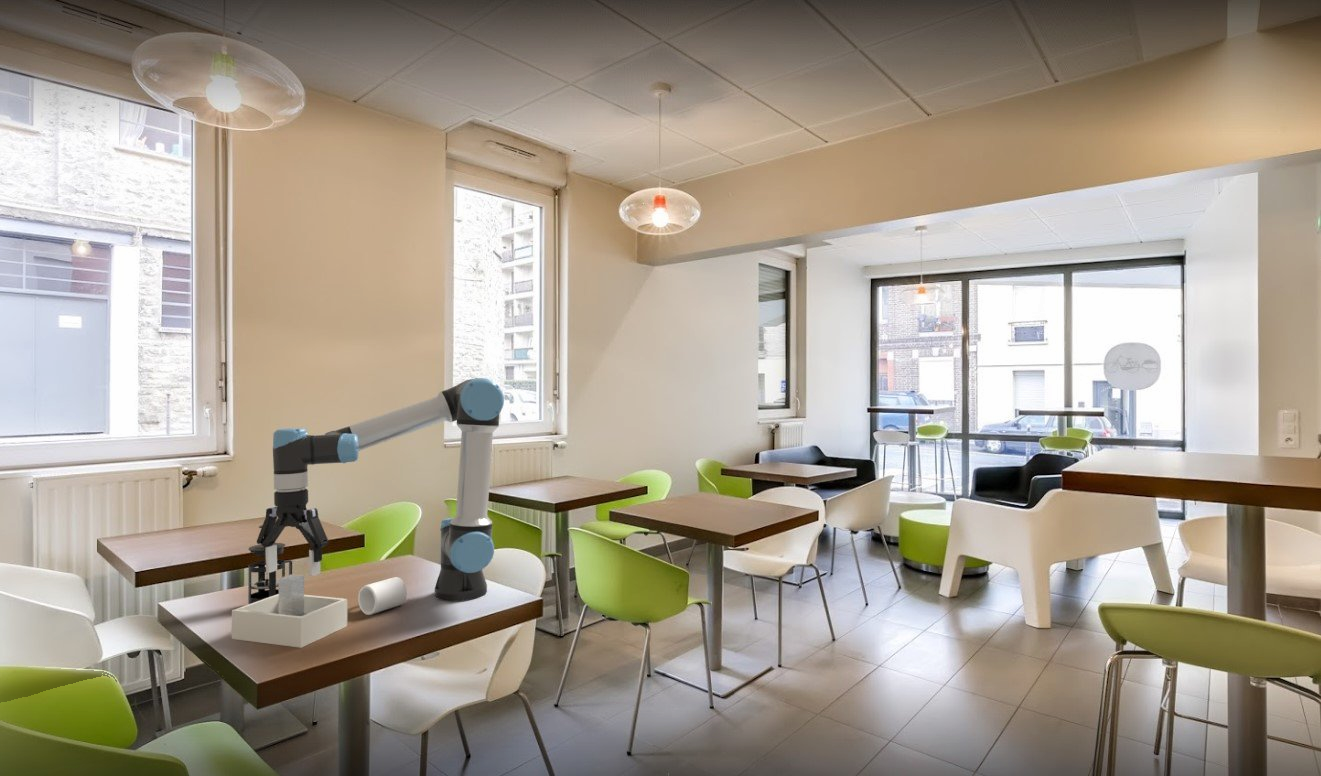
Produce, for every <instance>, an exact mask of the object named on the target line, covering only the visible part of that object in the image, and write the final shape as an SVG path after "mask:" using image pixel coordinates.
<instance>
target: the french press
mask: <svg viewBox="0 0 1321 776" xmlns="http://www.w3.org/2000/svg"><path fill="white" fill-rule="evenodd" d="M262 526H263V524H261V525H259V526H258V528H259V529H261V528H262ZM275 543H276V544H273V545H277V556H280V555H282V554H283V553H284V548H285V547H286V543H282V542H275ZM248 551H250V553H251V554H255V555H256V556H257V557H259V558H264V547H263V545H262V544H256V545H252V546H250V547H248ZM287 563H288V575H291V574H293V560H291V559H288V560H287V559H286V560H285V559H284V560H283V559H277V571H279V570H281V578H282V577H285V576H286V564H287ZM277 571H273V572H270V573H266V559H265V560H260V561H256V562H253V563H250V564H248V572H247V573H248V578H247V579H248V591H247V592H248V602H247V603H248V604H247V605H249V604H251V603H254V602H257V601H260V600H263V599H266V598H268V597H271V596H274V595H277V594H279V578H277ZM252 573H258V575H257V581H254V582H253V583H252ZM277 587H278V589H277ZM252 590H257V591H256V592H253V593H252Z"/></svg>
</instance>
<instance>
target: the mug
mask: <svg viewBox="0 0 1321 776" xmlns="http://www.w3.org/2000/svg"><path fill="white" fill-rule="evenodd" d="M407 592H408V591H407V587H406V584H405V582H404V580H402V578H400V577H397V576H394V577H390V578H387V579H384V580H380V581H376V582H373V583H368V584H366V585H363V586H361V588H360V589H359V591H358V595H357V601H358V607H359V608H360V610H361V612H362V613H363V614H365V615H367V616H371V615H374V614H378V613H380V612H384V611H387V610H390V609H393V608H396V607H399V606H402V605H403V604H404V603H405V601H406V599H407V597H408V596H407V595H408V593H407Z"/></svg>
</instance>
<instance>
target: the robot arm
mask: <svg viewBox="0 0 1321 776" xmlns="http://www.w3.org/2000/svg"><path fill="white" fill-rule="evenodd" d="M504 403H505V396H504V393H503V390H502V389H501V387H500V386H499V384H497V383H496V382H494V381H493V380H491V379H489V378H484V377H479V378H478V377H475V378H471V379H467V380H464V381H462V382H460V383H457V385H454V386H452V387H450V388H448V389H445V390H443V391H439V393H438V394H437V396H435V397H432V398H429V399H426V400H423V401H419V402H417V403H414V404H411V405H407V406H405V407H402V408H398V409H396V410H392V411H390V412H387V413H384V414H382V415H379V416H375V417H372V418H370V419H366V420H363V421H360V422H357V423H355V424H351V425H349V426H346V427H342V428H338V429H336V430H331V431H328V432H326V433H324V434H320V435H314V434H313V435H311V434H309V435H308V432H307V429H306V428H303V427H300V428H299V427H298V428H297V427H292V428H278V429H276V430H275V431H274V432H273V433H272V435H273V436H272V458H273V459H272V461H273V462H272V463H273V465H272V466H273V489H274V490H275V491H274V493H273V501H274V503H273V504H274V506H273V507H269V508H266V510H265V518H264V521H263V523H262V525H263V526H262V528H260V531H259V534H258V536H257V539H256V545H260V544H262V545H263V547H264V557H263V558H264V559H265V560H266V565H265V567H266V572H265V574H266V573H268V574H269V573H270V572H273V571H276V572H277V571H278V570H277V565H278V564H277V560H278V555H277V545H273V544H276V543H277V542H276V541H277V540H278V538H279V537H280V535H281V534H282V532H283V531H284V529H285V528H286V527H291V528H296V530H299V531H300V533H301V535H302V536H303V538H304V539H305V541H306V542H307V543H308V544H309V546H310V549H309V550H308V559H309V560H308V561H309V562H308V564H309V568H308V569H309V577H314V576H317V575H319V574H321V573H322V572H321V561H322V559H323V548H324V547H326V546H329V544H330V542H329V539H328V536H327V535H326V532H325V530H324V527H323V525H322V523H321V520H320V517H319V512H318V508H316V507H314V508H310V509H307V505H308V503H309V490H308V489H307V487H308V485H309V483H308V481H309V480H308V465H310V466H311V465H325V464H346V463H354V462H357V461H358V459H359V451H362V450H365V449H368V448H371V447H374V446H377V445H379V444H382V443H387V442H388V441H391V440H394V439H397V438H400V437H403V436H406V435H408V434H412V433H413V432H414V433H415V432H417V431H419V430H423V429H425V428H429V427H431V426H434V425H437V424H440V423H443V422H449V423H453V422H456V426H457V427H458V428H459V429H460V431H461V433H460V434H461V437H460V450H459V451H460V452H459V465H458V478H457V479H458V480H457V482H458V483H457V496H456V512H455V516H454V517H447V518H444V519H442V520H441V522H440V528H439V530H440V571H439V572H438V573H439V575H438V577H437V580H436V583H435V586H434V597H435V599H438V600H441V601H445V602H446V601H447V602H458V601H459V602H461V601H462V602H463V601H469V600H473V599H477V598H480V597H482V596H485V594H486V593H487V592H488V584H487V581H486V578H485V575H484V571H483V570H484V569H485V568H486V567H487V566H488V565H489V564H491V562H492V559H494V558H493V557H494V554H495V543H494V541H493V539H492V536H493V535H492V533H493V520H492V519H490V517H489V516H488V512H489V510H488V509H489V495H490V481H491V480H490V479H491V465H492V450H493V449H492V448H493V437H494V434H493V433H494V432H495V431H496V430H497V429H498V428H499V424H500V413H501V412H502V410H503V407H504Z"/></svg>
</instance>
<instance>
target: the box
mask: <svg viewBox="0 0 1321 776" xmlns="http://www.w3.org/2000/svg"><path fill="white" fill-rule="evenodd" d="M346 627H348V599H347V598H341V597H332V596H320V595H311V594H304V615H303V616H293V615H284V614H279V594H277V595H274V596H271V597H268V598H266V599H263V600H260V601H257V602H254V603H251V604H249V605H248V604H246V605H244V606H241V607H237V608H235V609H232V610H231V639H232V640H238V641H244V642H245V641H246V642H252V643H253V642H254V643H262V644H269V645H277V646H283V647H284V646H285V647H292V648H300V649H301V648H303V647H306V646H308V645H310V644H311V643H314V642H317V641H318V640H320V639H323V638H325V637H327V636H329V635H331V634H334V633H335V632H337V631H340V630H342V629H344V628H346Z"/></svg>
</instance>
